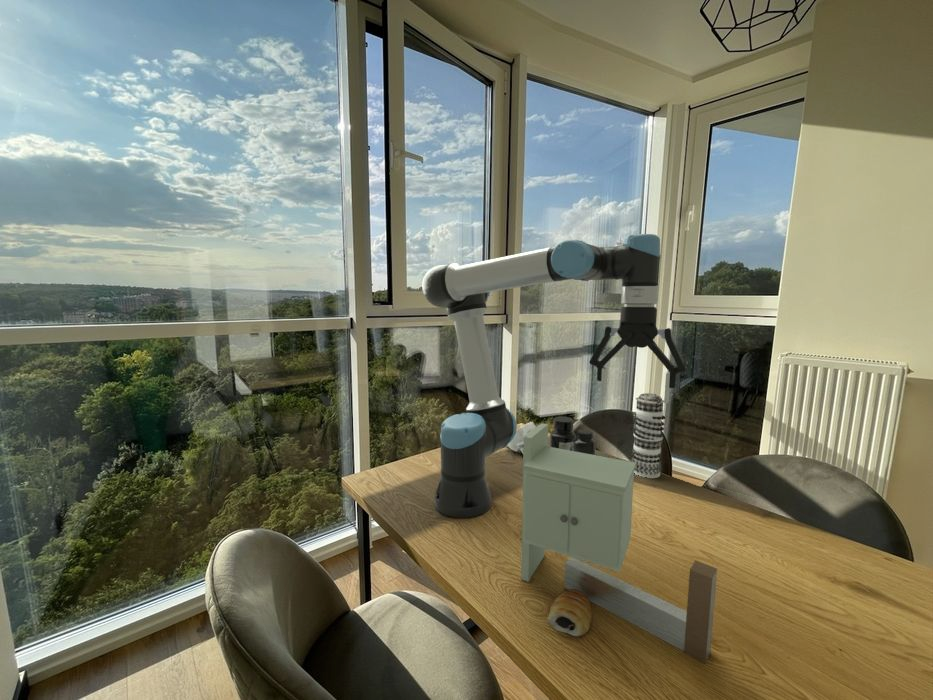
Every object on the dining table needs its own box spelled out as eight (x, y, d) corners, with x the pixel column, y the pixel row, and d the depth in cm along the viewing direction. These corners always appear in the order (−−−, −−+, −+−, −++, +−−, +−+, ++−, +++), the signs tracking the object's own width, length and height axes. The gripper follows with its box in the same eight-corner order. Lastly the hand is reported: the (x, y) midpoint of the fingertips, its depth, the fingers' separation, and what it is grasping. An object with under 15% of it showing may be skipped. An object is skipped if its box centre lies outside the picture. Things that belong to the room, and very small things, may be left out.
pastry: (561, 593, 77) (562, 574, 77) (598, 606, 74) (599, 587, 73) (545, 628, 69) (545, 607, 68) (585, 645, 66) (586, 623, 65)
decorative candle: (659, 468, 133) (664, 392, 129) (663, 480, 124) (668, 399, 121) (629, 464, 136) (633, 390, 132) (630, 476, 127) (635, 397, 124)
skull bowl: (537, 459, 137) (522, 424, 140) (510, 470, 146) (496, 437, 149) (555, 450, 144) (540, 418, 147) (528, 461, 153) (514, 430, 157)
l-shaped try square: (563, 587, 78) (565, 518, 76) (571, 580, 80) (573, 512, 79) (705, 664, 62) (712, 578, 60) (710, 651, 64) (717, 568, 62)
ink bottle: (563, 458, 141) (565, 424, 139) (544, 451, 148) (544, 419, 146) (581, 452, 147) (582, 419, 145) (561, 445, 154) (562, 414, 152)
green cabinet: (512, 592, 77) (514, 443, 73) (538, 553, 89) (541, 423, 85) (617, 632, 68) (625, 464, 64) (630, 583, 79) (637, 438, 76)
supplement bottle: (595, 472, 130) (597, 435, 128) (573, 470, 131) (574, 434, 129) (593, 464, 136) (594, 429, 135) (572, 462, 138) (573, 427, 136)
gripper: (578, 305, 95) (575, 395, 98) (702, 306, 83) (695, 409, 85) (586, 305, 102) (583, 389, 104) (702, 306, 89) (695, 401, 92)
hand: (633, 398), depth 95 cm, fingers open, 13 cm apart
